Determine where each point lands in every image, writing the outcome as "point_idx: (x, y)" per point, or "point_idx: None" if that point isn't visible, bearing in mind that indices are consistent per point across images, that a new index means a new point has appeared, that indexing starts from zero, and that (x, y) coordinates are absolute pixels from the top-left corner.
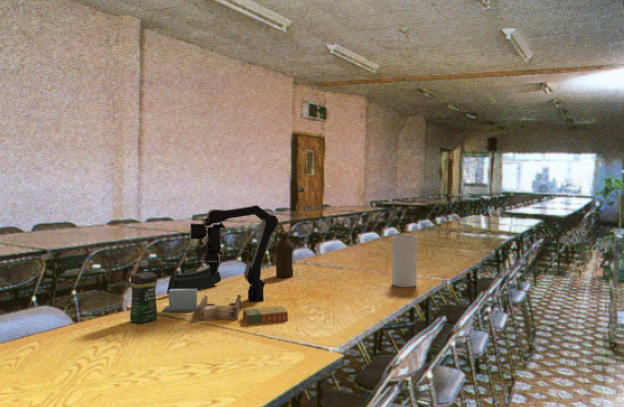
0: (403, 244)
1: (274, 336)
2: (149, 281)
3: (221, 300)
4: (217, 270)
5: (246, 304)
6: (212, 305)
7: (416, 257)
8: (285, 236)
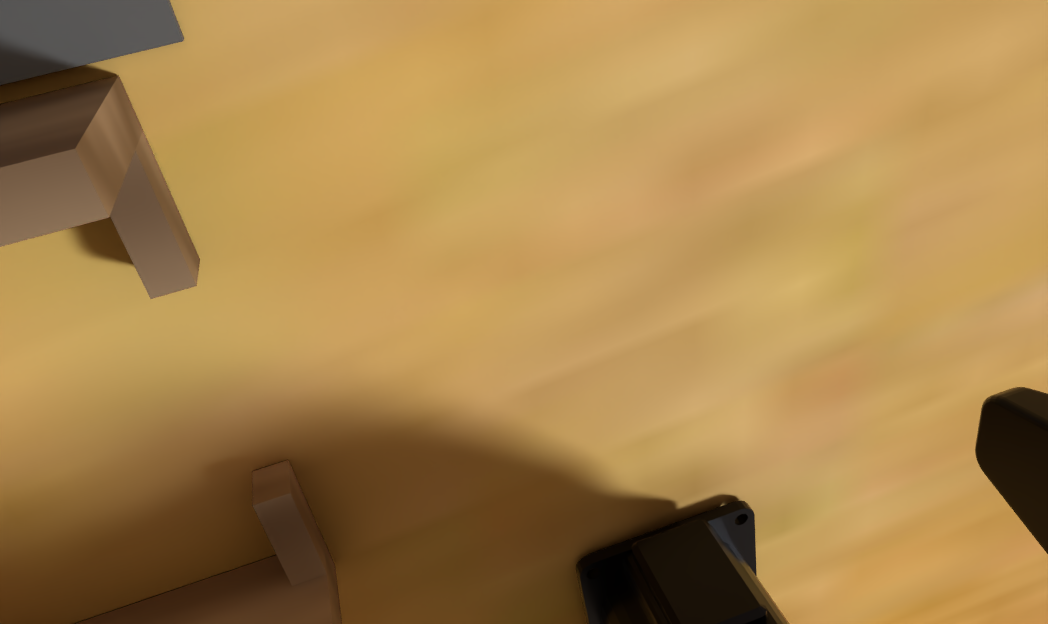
0: None
1: None
2: None
3: (619, 199)
4: (1024, 506)
5: (447, 581)
6: (134, 252)
7: None
8: None
